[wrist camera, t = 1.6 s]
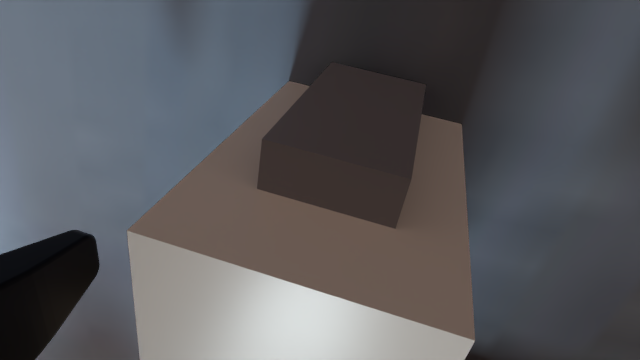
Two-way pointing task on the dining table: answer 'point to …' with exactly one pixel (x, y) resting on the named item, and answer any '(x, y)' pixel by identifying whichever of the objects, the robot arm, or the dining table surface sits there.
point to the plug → (314, 234)
